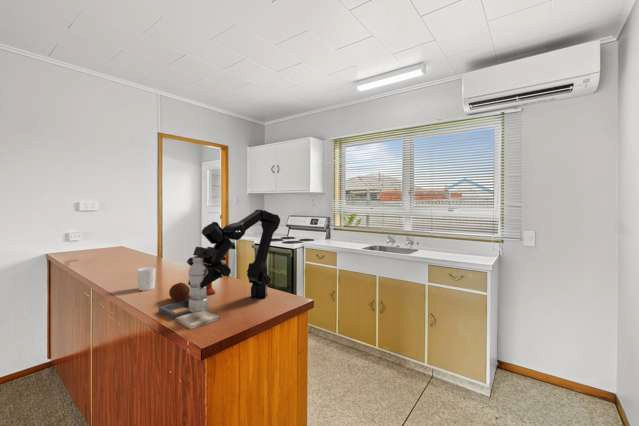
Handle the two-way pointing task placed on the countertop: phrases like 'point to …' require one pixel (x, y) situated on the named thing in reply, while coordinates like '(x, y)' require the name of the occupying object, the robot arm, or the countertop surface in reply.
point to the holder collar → (167, 308)
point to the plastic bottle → (197, 285)
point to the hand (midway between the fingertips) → (194, 286)
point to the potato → (179, 292)
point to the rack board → (197, 319)
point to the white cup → (146, 278)
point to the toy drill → (209, 289)
